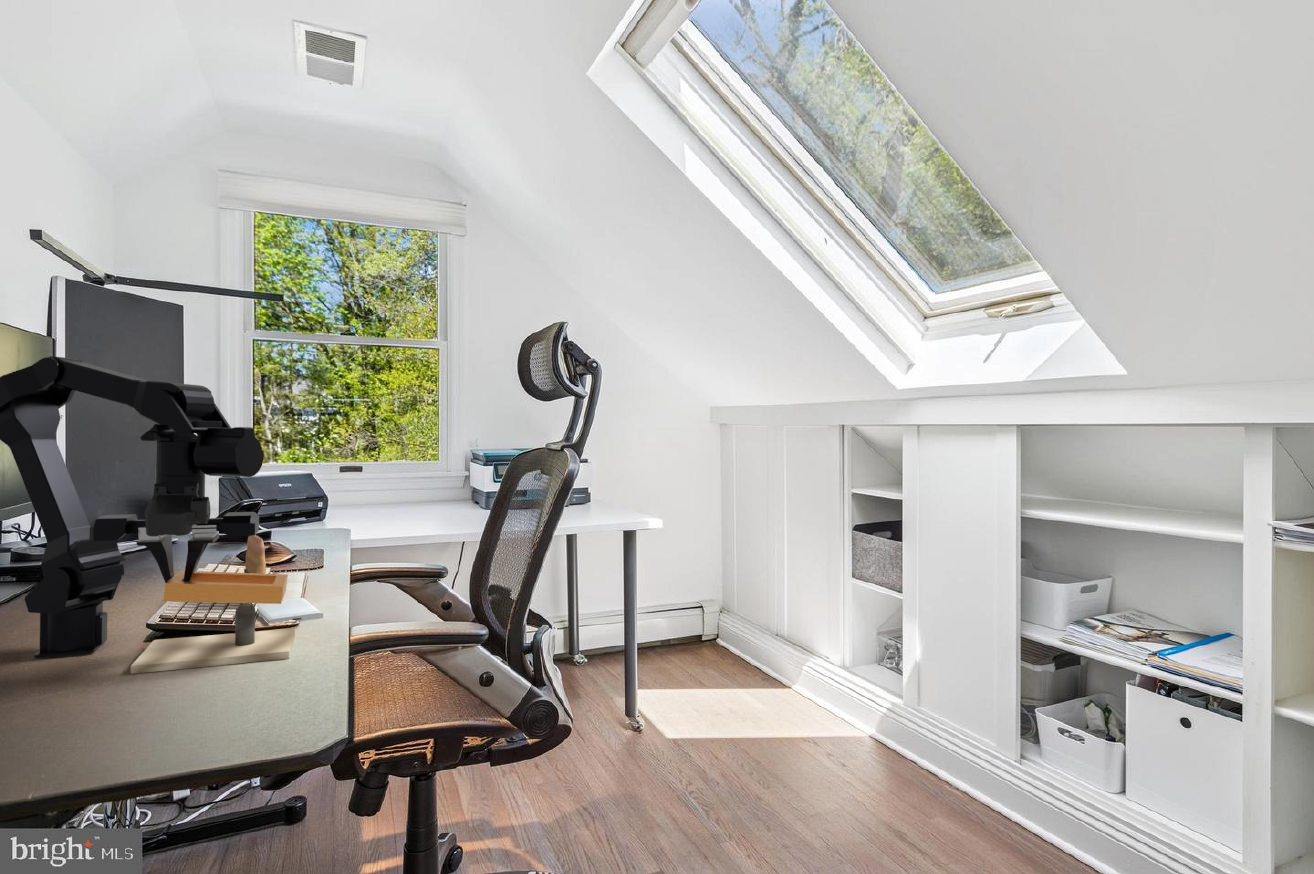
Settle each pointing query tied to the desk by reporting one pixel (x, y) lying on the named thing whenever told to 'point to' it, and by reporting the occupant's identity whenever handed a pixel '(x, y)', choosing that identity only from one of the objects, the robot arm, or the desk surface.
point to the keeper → (218, 647)
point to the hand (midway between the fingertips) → (178, 588)
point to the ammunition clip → (255, 556)
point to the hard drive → (289, 611)
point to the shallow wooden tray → (226, 588)
